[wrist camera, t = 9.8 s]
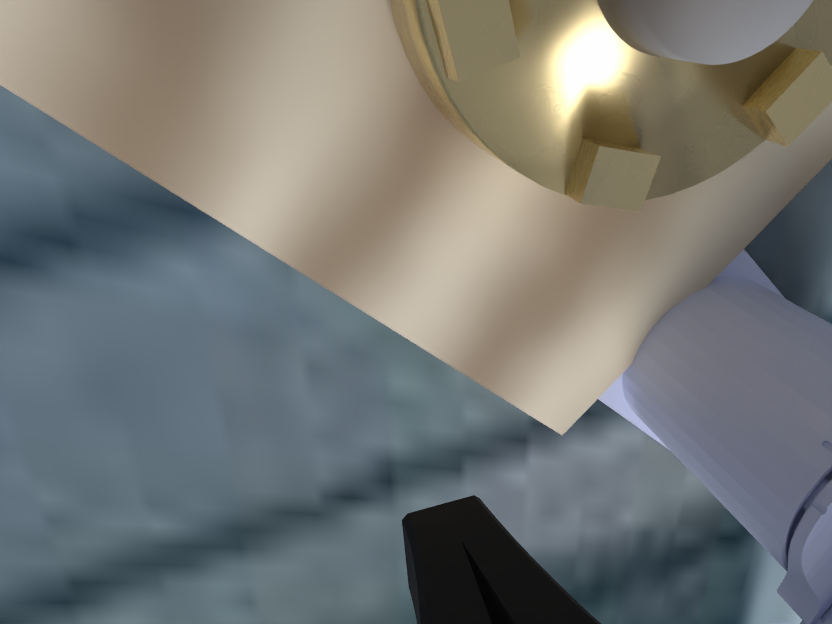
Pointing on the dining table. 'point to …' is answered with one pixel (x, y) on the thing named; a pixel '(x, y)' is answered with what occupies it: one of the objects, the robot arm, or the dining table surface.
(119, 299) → the dining table surface
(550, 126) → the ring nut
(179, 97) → the base plate
